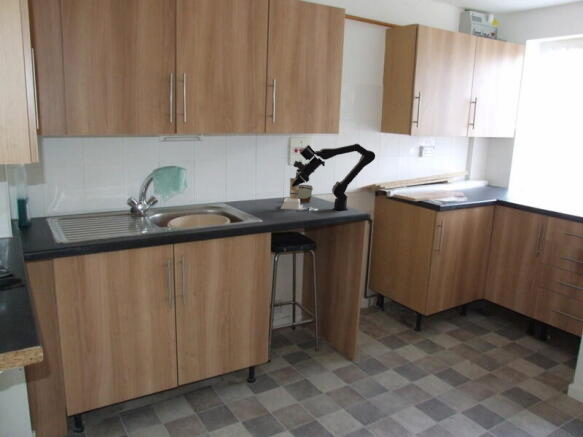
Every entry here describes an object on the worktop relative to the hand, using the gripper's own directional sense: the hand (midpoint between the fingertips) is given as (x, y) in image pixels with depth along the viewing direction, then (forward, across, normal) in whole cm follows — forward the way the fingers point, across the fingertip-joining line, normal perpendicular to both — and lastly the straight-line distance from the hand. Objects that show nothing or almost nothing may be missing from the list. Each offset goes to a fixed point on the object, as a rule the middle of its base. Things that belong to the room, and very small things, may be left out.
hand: (291, 185), depth 271 cm
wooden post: (+4, 0, +6) cm, 7 cm away
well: (+9, -5, +10) cm, 15 cm away
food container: (+3, -24, +17) cm, 30 cm away
